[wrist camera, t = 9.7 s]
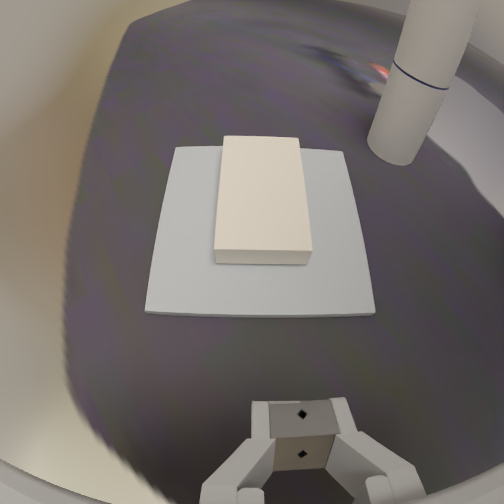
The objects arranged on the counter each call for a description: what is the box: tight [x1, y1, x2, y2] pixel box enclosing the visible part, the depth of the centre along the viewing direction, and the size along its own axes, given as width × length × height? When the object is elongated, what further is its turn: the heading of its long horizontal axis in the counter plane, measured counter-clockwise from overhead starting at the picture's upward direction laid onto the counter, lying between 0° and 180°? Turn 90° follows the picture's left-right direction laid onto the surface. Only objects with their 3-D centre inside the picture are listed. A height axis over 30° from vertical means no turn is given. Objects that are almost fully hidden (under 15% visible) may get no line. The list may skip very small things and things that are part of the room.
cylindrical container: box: [367, 0, 482, 166], centre depth 27 cm, size 7×7×25 cm
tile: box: [214, 136, 313, 265], centre depth 30 cm, size 8×3×14 cm
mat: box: [145, 146, 375, 318], centre depth 30 cm, size 20×20×1 cm
